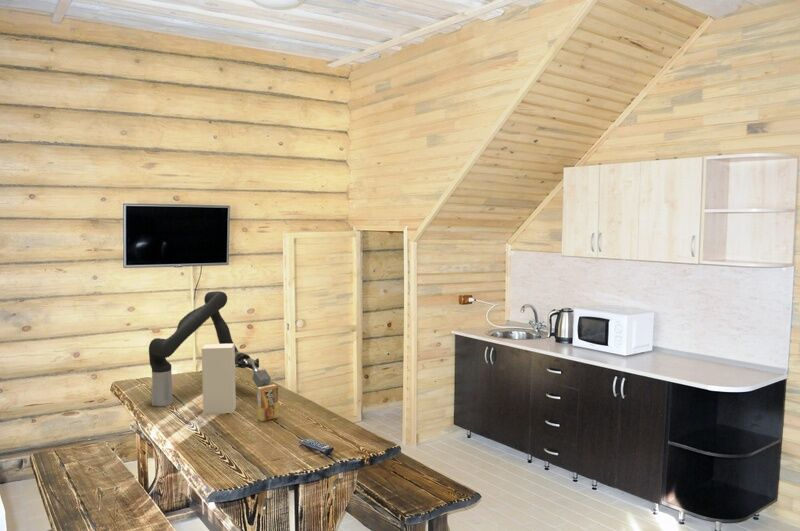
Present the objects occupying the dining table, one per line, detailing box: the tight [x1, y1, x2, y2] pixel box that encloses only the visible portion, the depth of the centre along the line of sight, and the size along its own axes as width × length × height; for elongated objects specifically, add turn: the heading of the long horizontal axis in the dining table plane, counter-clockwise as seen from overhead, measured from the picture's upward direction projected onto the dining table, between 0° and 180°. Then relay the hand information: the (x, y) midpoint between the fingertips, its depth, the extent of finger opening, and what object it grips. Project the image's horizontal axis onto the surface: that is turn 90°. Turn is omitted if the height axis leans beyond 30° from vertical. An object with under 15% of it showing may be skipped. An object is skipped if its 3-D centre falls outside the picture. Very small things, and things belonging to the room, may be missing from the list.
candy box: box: [256, 384, 279, 422], centre depth 296 cm, size 9×4×15 cm, turn 129°
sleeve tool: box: [247, 357, 271, 388], centre depth 324 cm, size 6×19×5 cm, turn 38°
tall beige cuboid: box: [201, 342, 237, 415], centre depth 306 cm, size 14×10×32 cm
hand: (254, 366), depth 326 cm, fingers closed on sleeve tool, 3 cm apart
